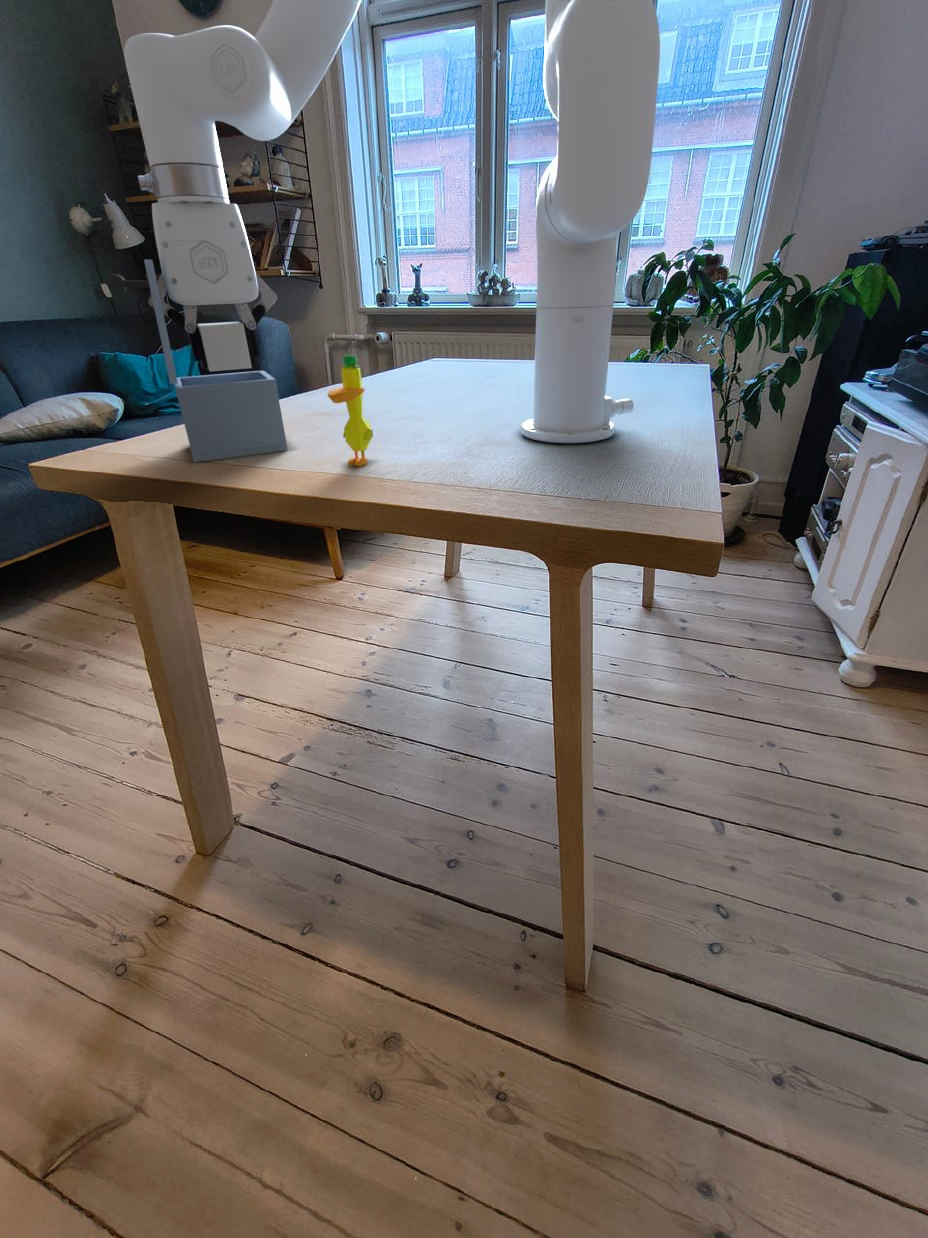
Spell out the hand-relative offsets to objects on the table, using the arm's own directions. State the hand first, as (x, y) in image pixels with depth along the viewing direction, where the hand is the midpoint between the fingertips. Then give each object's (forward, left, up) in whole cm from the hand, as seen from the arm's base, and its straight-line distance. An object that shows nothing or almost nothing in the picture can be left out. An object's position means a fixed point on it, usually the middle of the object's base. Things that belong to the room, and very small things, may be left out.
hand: (228, 363), depth 75 cm
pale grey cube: (0, 0, 0) cm, 0 cm away
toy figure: (-11, +16, -11) cm, 22 cm away
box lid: (+6, 0, +5) cm, 8 cm away
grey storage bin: (+1, 0, -10) cm, 10 cm away
